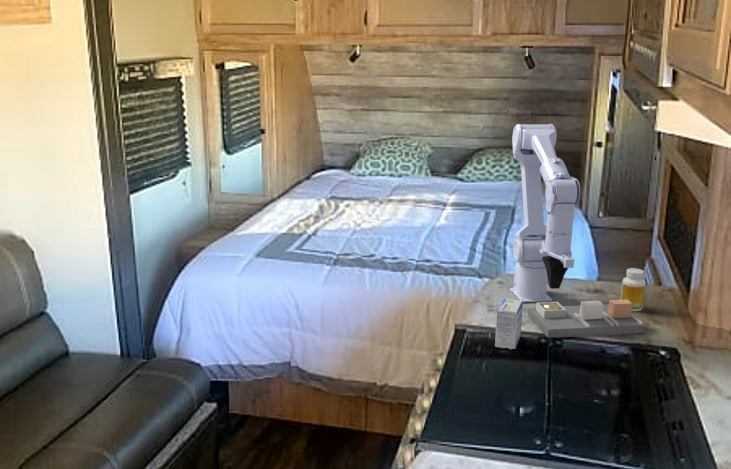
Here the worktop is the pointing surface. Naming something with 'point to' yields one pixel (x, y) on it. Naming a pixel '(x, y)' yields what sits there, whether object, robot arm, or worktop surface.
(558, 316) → the switch panel
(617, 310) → the salmon orange block
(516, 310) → the medicine box
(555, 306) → the brass button
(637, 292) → the supplement bottle
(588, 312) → the ivory rectangular block
